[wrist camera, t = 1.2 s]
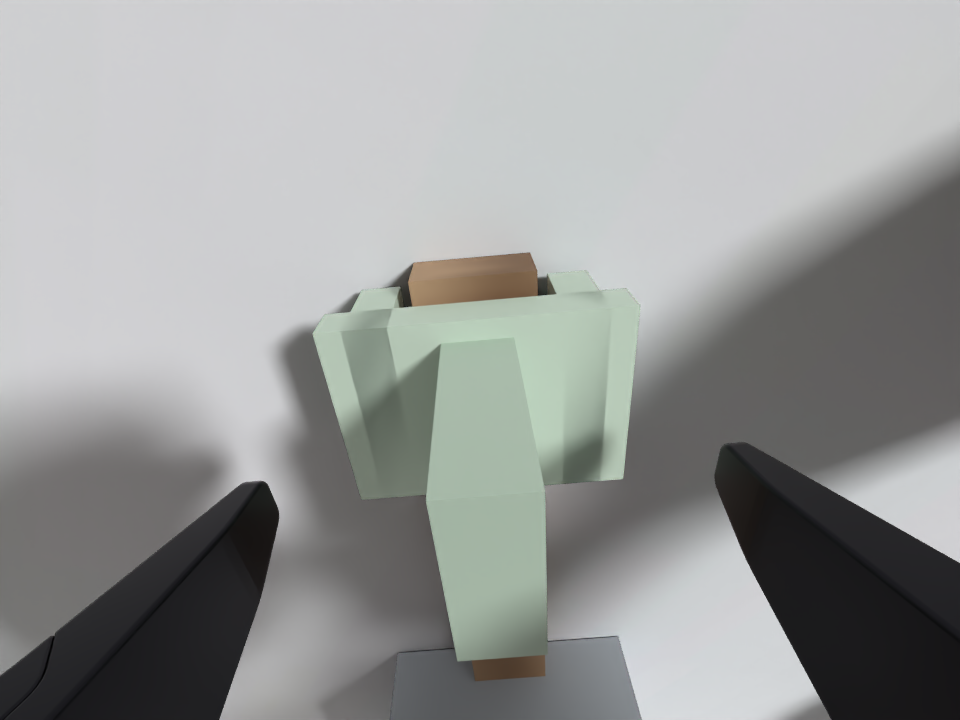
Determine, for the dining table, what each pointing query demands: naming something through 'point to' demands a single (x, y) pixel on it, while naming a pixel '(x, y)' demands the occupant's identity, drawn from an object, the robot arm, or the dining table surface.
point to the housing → (518, 686)
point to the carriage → (485, 431)
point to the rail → (468, 285)
